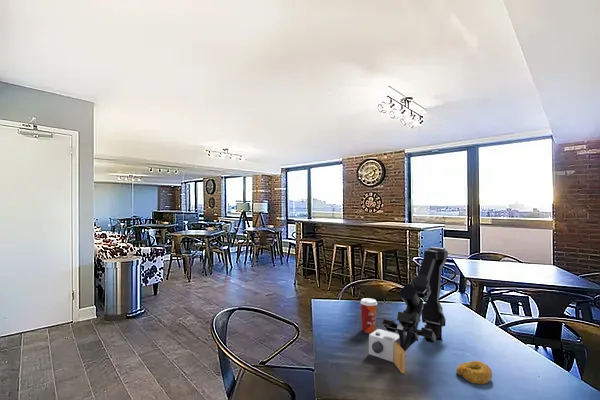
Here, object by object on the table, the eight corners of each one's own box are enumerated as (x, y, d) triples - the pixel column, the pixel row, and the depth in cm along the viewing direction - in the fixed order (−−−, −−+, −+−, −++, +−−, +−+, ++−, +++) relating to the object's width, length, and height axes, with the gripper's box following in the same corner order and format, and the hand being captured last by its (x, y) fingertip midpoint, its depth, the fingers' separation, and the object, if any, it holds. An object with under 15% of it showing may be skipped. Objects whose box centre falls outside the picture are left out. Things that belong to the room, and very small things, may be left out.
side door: (404, 373, 116) (405, 351, 116) (401, 373, 116) (401, 351, 116) (395, 361, 124) (395, 340, 124) (392, 362, 124) (392, 340, 124)
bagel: (460, 366, 122) (460, 353, 122) (494, 377, 115) (495, 363, 115) (452, 378, 114) (452, 364, 114) (489, 390, 107) (489, 375, 107)
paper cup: (372, 335, 149) (372, 303, 149) (356, 331, 153) (357, 300, 153) (379, 330, 155) (380, 299, 155) (364, 326, 160) (365, 296, 160)
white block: (378, 347, 137) (378, 327, 137) (401, 354, 130) (402, 334, 130) (367, 355, 129) (367, 334, 129) (391, 363, 123) (392, 341, 123)
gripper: (383, 297, 129) (370, 336, 121) (433, 307, 117) (422, 351, 109) (392, 311, 135) (380, 348, 127) (440, 322, 124) (430, 364, 116)
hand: (402, 352), depth 120 cm, fingers closed
